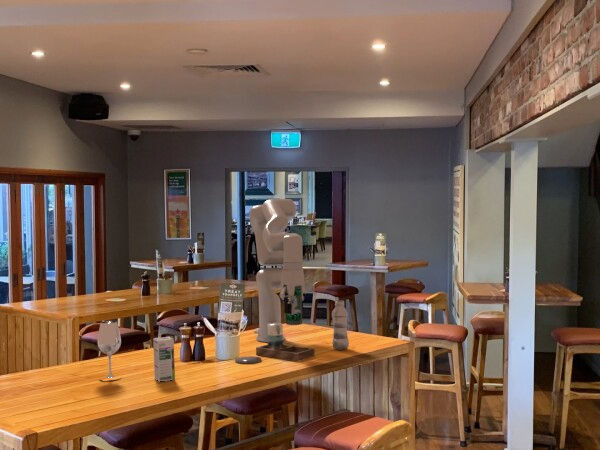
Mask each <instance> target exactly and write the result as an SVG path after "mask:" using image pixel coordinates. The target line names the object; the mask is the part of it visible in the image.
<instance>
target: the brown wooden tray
mask: <svg viewBox="0 0 600 450" xmlns="http://www.w3.org/2000/svg"><path fill="white" fill-rule="evenodd" d="M255 348H256V349H255V355H256V356H259V357H265V358H266V357H268V358H273V359H279V360H280V359H281V360H285V361H291V362H296V363H297V362H301V361H303V360H307V359H311V358H314V357H315V355H316V353H315V352H316V350H315V349H316V348H314V347H306V346H298V345H291V344H286V343H285V344H284V343H283V348H282V349H278V350H274V349H268V343H267V344H265V345H261V346H257V347H255Z"/></svg>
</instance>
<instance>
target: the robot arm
mask: <svg viewBox="0 0 600 450" xmlns="http://www.w3.org/2000/svg"><path fill="white" fill-rule="evenodd" d="M296 214H297V206H296V203H295V202H294V201H293V199H291V198H270V199H267V200H266V201H264V202H263V204H258V205H253V206H252V207H251V208H250V210H249V223H250V227H251V228H252V230H253V233H254V237H255V243H256V246H255V247H256V255H257V260H258V261H257V262H258V263H259V265H261V266H264V267H267V266H268V267H269V266H271V267H270V268H262V269H260V270H259V271H258V272H257V273H256V276H255V280H256V285H257V291H258V312H259V313H258V318H259V319H258V321H259V323H258V324H259V327H258V328H255V330H253V331H254V332H253V333H254V334H257V336H256V337H255V339H256V341H257V342H261V343H268V324H270V323H282V322H281V321H282V318H281V316H282V315H281V314H282V313H281V301H282V303H283V304H284V305H283V309H284V310H283V312H284V314H285V315H286V314H291V313H292V308H291V303H290V302H291V298H292V296H294V292H295V286H301V285H302V312H304V302H305V301H304V300H305V296H306V294H307V292H308V289H307V287H306V285H305V284H306V283H305V274H304V273H305V271H304V269H303V267H304V266H303V265H304V264H303V259H304V258H303V257H304V256H303V251H304V250H303V237H302V235H300V234H298V233H296V232H284V233H283V231H284V230H286V229H287V228H288V225H289V221H291V220H293V219H295V216H296ZM272 266H274V267H272ZM275 266H281V267H275ZM276 290H280V293H279V295H278V294H277V292H275V291H276ZM287 294H288V295H287ZM287 297H289V298H288V299H287ZM285 337H286V336H284V335H283V341H284V340H285Z"/></svg>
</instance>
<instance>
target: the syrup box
mask: <svg viewBox="0 0 600 450" xmlns="http://www.w3.org/2000/svg"><path fill="white" fill-rule="evenodd" d="M152 340H153V341H152V342H153V343H152V344H153V365H154V366H153V367H154V368H153V369H154V372H153V373H154V380H155V379H156V380H155V381H157V380H158V381H159V382H158V381H157V382H158V383H161V382H160V381H165V382H170V380H172V381H175V380H176V368H175V343H174V342H175V341H174V338H173V337H172V336H165V337H154V338H153V339H152Z"/></svg>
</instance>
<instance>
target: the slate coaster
mask: <svg viewBox="0 0 600 450" xmlns="http://www.w3.org/2000/svg"><path fill="white" fill-rule="evenodd" d="M234 361H235V363H236V364H242V365H252V364H258V363H261V362H262V358H261V357H260V356H259V357H258V356H242V357H241V356H240V357H237V358H235V360H234Z"/></svg>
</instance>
